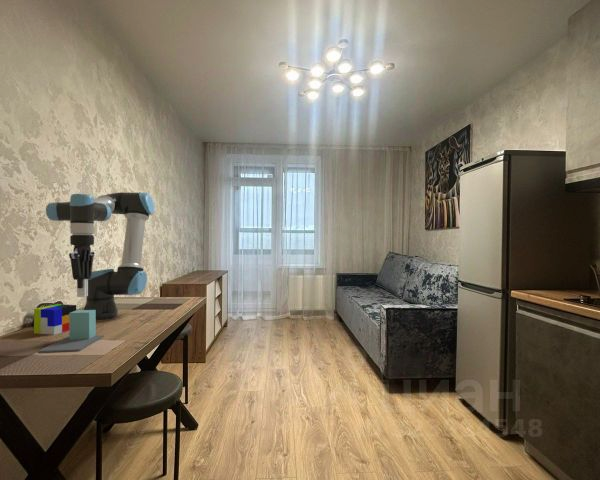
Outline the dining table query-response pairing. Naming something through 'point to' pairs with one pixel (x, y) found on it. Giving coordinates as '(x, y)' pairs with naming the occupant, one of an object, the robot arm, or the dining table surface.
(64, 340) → the rubber mat
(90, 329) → the teal block
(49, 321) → the puzzle toy
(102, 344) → the dining table surface
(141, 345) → the dining table surface
